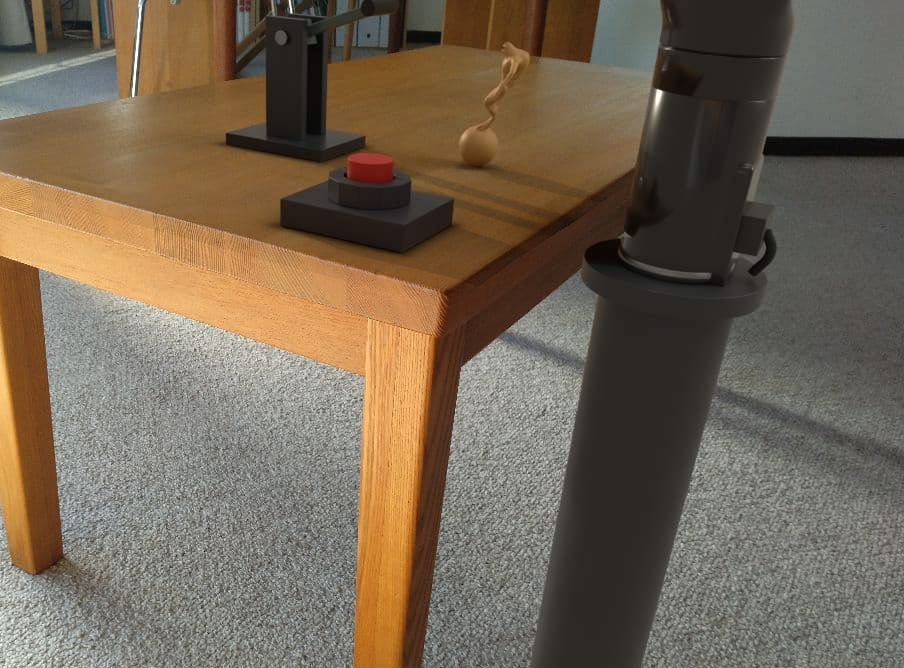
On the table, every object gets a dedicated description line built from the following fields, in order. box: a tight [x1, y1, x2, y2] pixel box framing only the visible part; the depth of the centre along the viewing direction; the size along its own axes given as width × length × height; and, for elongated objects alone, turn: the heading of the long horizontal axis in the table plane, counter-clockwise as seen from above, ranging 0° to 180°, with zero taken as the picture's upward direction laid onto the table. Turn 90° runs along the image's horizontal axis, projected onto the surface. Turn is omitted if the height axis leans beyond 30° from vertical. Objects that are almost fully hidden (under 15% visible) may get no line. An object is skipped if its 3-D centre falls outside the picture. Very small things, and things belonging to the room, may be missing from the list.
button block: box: [279, 166, 455, 254], centre depth 71 cm, size 11×9×4 cm
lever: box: [307, 0, 400, 47], centre depth 88 cm, size 12×5×2 cm, turn 61°
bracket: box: [225, 12, 366, 163], centre depth 93 cm, size 12×9×13 cm
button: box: [346, 152, 395, 183], centre depth 70 cm, size 4×4×2 cm
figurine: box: [458, 41, 531, 167], centre depth 89 cm, size 8×6×12 cm
